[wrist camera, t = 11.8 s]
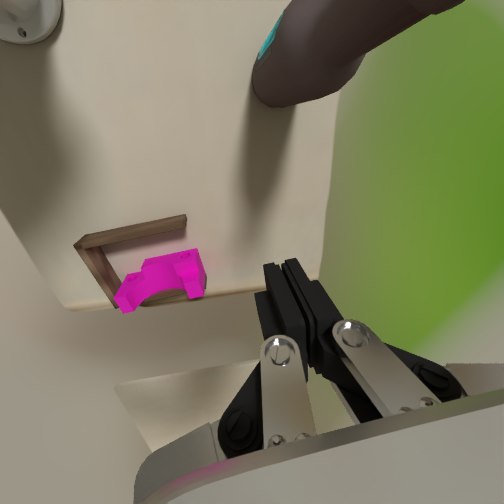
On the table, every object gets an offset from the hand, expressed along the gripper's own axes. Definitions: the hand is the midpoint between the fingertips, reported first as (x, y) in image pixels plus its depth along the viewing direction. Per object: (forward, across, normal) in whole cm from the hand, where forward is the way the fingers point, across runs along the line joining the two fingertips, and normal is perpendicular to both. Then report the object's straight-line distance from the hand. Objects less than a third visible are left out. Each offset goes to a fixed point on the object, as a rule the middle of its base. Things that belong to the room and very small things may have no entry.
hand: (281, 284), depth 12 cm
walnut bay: (+31, +19, +14) cm, 39 cm away
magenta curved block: (+32, +17, +17) cm, 40 cm away
